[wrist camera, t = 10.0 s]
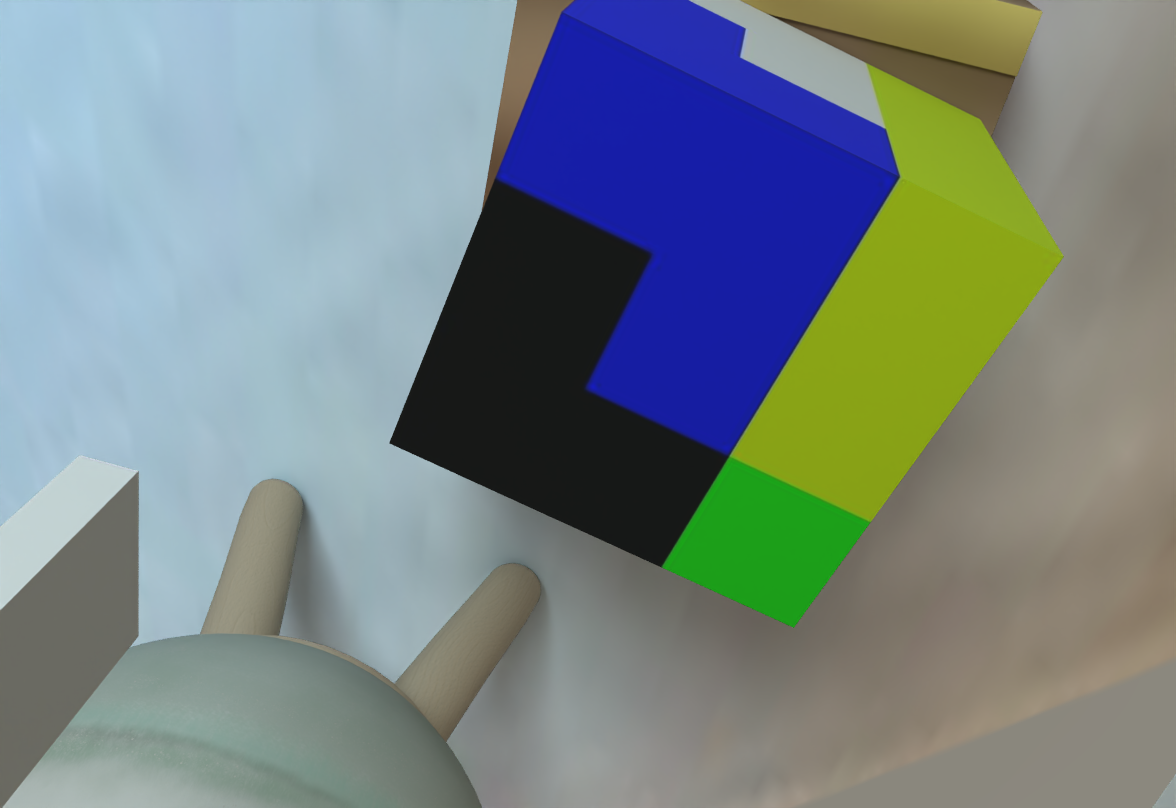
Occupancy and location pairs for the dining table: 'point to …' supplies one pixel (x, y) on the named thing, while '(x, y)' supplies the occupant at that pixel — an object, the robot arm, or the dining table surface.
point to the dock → (841, 48)
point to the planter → (278, 701)
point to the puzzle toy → (722, 294)
